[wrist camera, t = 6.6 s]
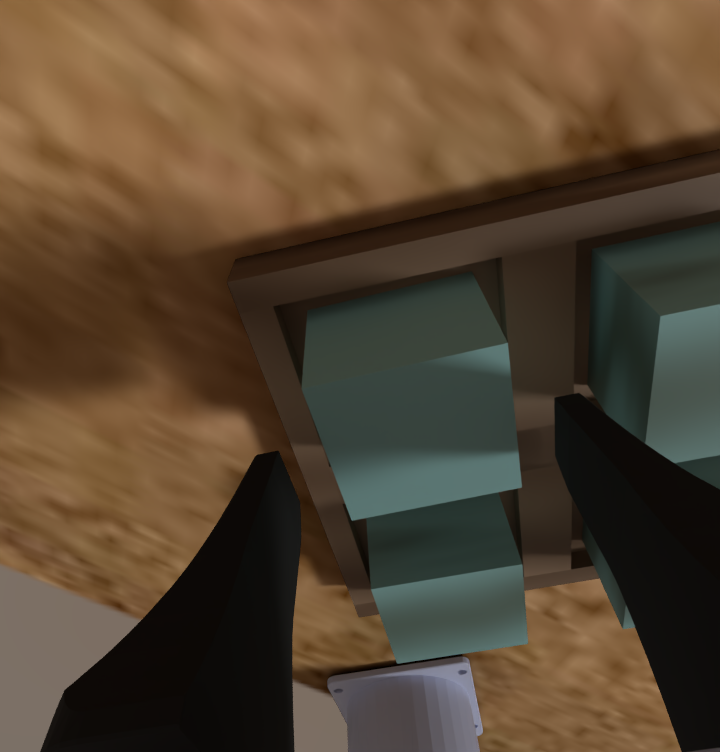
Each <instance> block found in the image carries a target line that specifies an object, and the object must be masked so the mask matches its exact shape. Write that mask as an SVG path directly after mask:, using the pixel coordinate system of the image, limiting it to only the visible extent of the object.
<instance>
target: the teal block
mask: <svg viewBox="0 0 720 752" xmlns="http://www.w3.org/2000/svg"><path fill="white" fill-rule="evenodd" d="M302 392H303V394H304V397H305V399H306V402H307V405H308V407H309V410H310V413H311V415H312V418H313V420H314V423H315V426H316V428H317V431H318V433H319V436H320V439H321V441H322V444H323V447H324V449H325V452H326V454H327V457H328V460H329V462H330V465H331V468H332V470H333V473H334V475H335V478H336V481H337V483H338V486H339V488H340V491H341V494H342V496H343V499H344V502H345V504H346V507H347V509H348V512H349V515H350V517H351V520H352V521H353V520H359V519H364V518H369V517H374V516H379V515H384V514H389V513H394V512H400V511H405V510H410V509H415V508H420V507H425V506H430V505H435V504H440V503H446V502H451V501H456V500H461V499H466V498H471V497H476V496H481V495H487V494H492V493H497V492H502V491H507V490H512V489H517V488H522V483H521V472H520V462H519V452H518V442H517V431H516V421H515V411H514V401H513V391H512V380H511V370H510V360H509V350H508V342H507V340H506V338H505V336H504V334H503V332H502V330H501V328H500V326H499V324H498V323H497V321H496V319H495V317H494V315H493V313H492V311H491V309H490V307H489V305H488V303H487V301H486V299H485V297H484V295H483V293H482V291H481V289H480V287H479V285H478V283H477V281H476V279H475V277H474V275H473V273H472V271H471V272H467V273H463V274H458V275H454V276H450V277H446V278H442V279H437V280H433V281H429V282H425V283H421V284H416V285H412V286H408V287H404V288H399V289H395V290H391V291H387V292H383V293H378V294H374V295H370V296H366V297H362V298H357V299H353V300H349V301H345V302H341V303H336V304H332V305H328V306H324V307H320V308H315V309H311V310H308V311H307V324H306V337H305V350H304V363H303V376H302Z"/></svg>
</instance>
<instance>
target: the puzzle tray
mask: <svg viewBox="0 0 720 752" xmlns="http://www.w3.org/2000/svg"><path fill="white" fill-rule="evenodd" d="M471 271H472V273H473V275H474V277H475V279H476V281H477V283H478V285H479V287H480V289H481V291H482V293H483V295H484V297H485V299H486V301H487V303H488V305H489V307H490V309H491V311H492V313H493V315H494V317H495V319H496V321H497V323H498V324H499V326H500V328H501V330H502V332H503V334H504V336H505V338H506V340H507V342H508V350H509V360H510V370H511V380H512V391H513V401H514V411H515V421H516V431H517V442H518V452H519V462H520V472H521V483H522V488H517V489H512V490H507V491H502V492H497V493H492V494H487V495H481V496H476V497H471V498H466V499H461V500H456V501H451V502H446V503H440V504H435V505H430V506H425V507H420V508H415V509H410V510H405V511H400V512H394V513H389V514H384V515H379V516H374V517H369V518H364V519H359V520H353V521H352V520H351V517H350V515H349V512H348V509H347V507H346V504H345V502H344V499H343V496H342V494H341V491H340V488H339V486H338V483H337V481H336V478H335V475H334V473H333V470H332V468H331V465H330V462H329V460H328V457H327V454H326V452H325V449H324V447H323V444H322V441H321V439H320V436H319V433H318V431H317V428H316V426H315V423H314V420H313V418H312V415H311V413H310V410H309V407H308V405H307V402H306V399H305V397H304V394H303V392H302V376H303V363H304V350H305V337H306V324H307V311H308V310H311V309H315V308H320V307H324V306H328V305H332V304H336V303H341V302H345V301H349V300H353V299H357V298H362V297H366V296H370V295H374V294H378V293H383V292H387V291H391V290H395V289H399V288H404V287H408V286H412V285H416V284H421V283H425V282H429V281H433V280H437V279H442V278H446V277H450V276H454V275H458V274H463V273H467V272H471ZM227 284H228V287H229V289H230V292H231V294H232V297H233V299H234V302H235V304H236V307H237V310H238V312H239V315H240V317H241V320H242V322H243V325H244V327H245V330H246V332H247V335H248V337H249V340H250V342H251V345H252V348H253V350H254V353H255V355H256V358H257V360H258V363H259V365H260V368H261V370H262V373H263V375H264V378H265V380H266V383H267V386H268V388H269V391H270V393H271V396H272V398H273V401H274V403H275V406H276V408H277V411H278V413H279V416H280V419H281V421H282V424H283V426H284V429H285V431H286V434H287V436H288V439H289V441H290V444H291V446H292V449H293V451H294V454H295V457H296V459H297V462H298V464H299V467H300V469H301V472H302V474H303V477H304V479H305V482H306V484H307V487H308V489H309V492H310V495H311V497H312V500H313V502H314V505H315V507H316V510H317V512H318V515H319V517H320V520H321V522H322V525H323V527H324V530H325V533H326V535H327V538H328V540H329V543H330V545H331V548H332V550H333V553H334V555H335V558H336V560H337V563H338V566H339V568H340V571H341V573H342V576H343V578H344V581H345V583H346V586H347V588H348V591H349V593H350V596H351V598H352V601H353V604H354V606H355V609H356V611H357V614H358V616H359V617H365V616H371V615H377V614H380V616H381V619H382V622H383V625H384V628H385V631H386V633H387V636H388V639H389V642H390V645H391V648H392V650H393V653H394V656H395V659H396V662H397V664H399V663H406V662H412V661H419V660H425V659H432V658H438V657H445V656H451V655H458V654H464V653H471V652H477V651H484V650H490V649H497V648H503V647H510V646H516V645H523V644H528V637H527V623H526V608H525V594H524V591H525V590H531V589H537V588H543V587H549V586H556V585H562V584H568V583H574V582H580V581H586V580H593V579H599V578H600V580H601V582H602V585H603V587H604V589H605V591H606V593H607V595H608V598H609V600H610V602H611V604H612V606H613V608H614V611H615V613H616V615H617V617H618V619H619V622H620V624H621V626H622V628H623V629H627V628H633V627H635V625H634V623H633V620H632V618H631V615H630V613H629V611H628V608H627V606H626V603H625V601H624V599H623V596H622V594H621V591H620V589H619V587H618V584H617V582H616V580H615V578H614V576H613V574H612V572H611V570H610V568H609V566H608V564H607V562H606V560H605V558H604V556H603V554H602V553H601V551H600V549H599V547H598V545H597V543H596V541H595V540H594V538H593V536H592V534H591V532H590V530H589V529H588V527H587V525H586V523H585V521H584V519H583V517H582V516H581V514H580V512H579V510H578V508H577V506H576V504H575V502H574V501H573V499H572V497H571V495H570V493H569V491H568V488H567V486H566V483H565V481H564V478H563V476H562V473H561V471H560V468H559V465H558V462H557V460H556V457H555V415H554V397H559V396H565V395H570V394H575V393H580V394H581V395H583V396H584V397H585V398H587V399H588V400H589V401H590V402H592V403H593V404H594V405H595V406H597V407H598V408H599V409H600V410H602V411H603V412H604V413H605V414H607V415H608V416H609V417H610V418H612V419H613V420H614V421H616V422H617V423H618V424H619V425H621V426H622V427H623V428H625V429H626V430H627V431H629V432H630V433H631V434H633V435H634V436H636V437H637V438H638V439H640V440H641V441H642V442H644V443H645V444H647V445H648V446H649V447H651V448H652V449H654V450H655V451H657V452H658V453H660V454H661V455H663V456H664V457H666V458H667V459H669V460H670V461H672V462H673V463H675V464H677V465H678V466H680V467H681V468H683V469H685V470H686V471H688V472H690V473H691V474H693V475H695V476H696V477H698V478H700V479H702V480H704V481H706V482H707V483H709V484H711V485H713V486H715V487H716V488H718V489H720V150H716V151H711V152H707V153H702V154H698V155H694V156H689V157H685V158H680V159H676V160H672V161H667V162H663V163H658V164H654V165H650V166H645V167H641V168H636V169H632V170H627V171H623V172H619V173H614V174H610V175H605V176H601V177H597V178H592V179H588V180H583V181H579V182H575V183H570V184H566V185H561V186H557V187H552V188H548V189H544V190H539V191H535V192H530V193H526V194H522V195H517V196H513V197H508V198H504V199H500V200H495V201H491V202H486V203H482V204H478V205H473V206H469V207H464V208H460V209H455V210H451V211H447V212H442V213H438V214H433V215H429V216H425V217H420V218H416V219H411V220H407V221H403V222H398V223H394V224H389V225H385V226H381V227H376V228H372V229H367V230H363V231H358V232H354V233H350V234H345V235H341V236H336V237H332V238H328V239H323V240H319V241H314V242H310V243H306V244H301V245H297V246H292V247H288V248H284V249H279V250H275V251H270V252H266V253H261V254H257V255H253V256H248V257H244V258H239V259H235V262H234V265H233V267H232V270H231V273H230V275H229V278H228V281H227Z"/></svg>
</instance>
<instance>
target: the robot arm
mask: <svg viewBox="0 0 720 752" xmlns="http://www.w3.org/2000/svg"><path fill="white" fill-rule="evenodd" d="M554 415H555V457H556V460H557V462H558V465H559V468H560V471H561V473H562V476H563V478H564V481H565V483H566V486H567V488H568V491H569V493H570V495H571V497H572V499H573V501H574V502H575V504H576V506H577V508H578V510H579V512H580V514H581V516H582V517H583V519H584V521H585V523H586V525H587V527H588V529H589V530H590V532H591V534H592V536H593V538H594V540H595V541H596V543H597V545H598V547H599V549H600V551H601V553H602V554H603V556H604V558H605V560H606V562H607V564H608V566H609V568H610V570H611V572H612V574H613V576H614V578H615V580H616V582H617V584H618V587H619V589H620V591H621V594H622V596H623V599H624V601H625V603H626V606H627V608H628V611H629V613H630V615H631V618H632V620H633V623H634V625H635V628H636V630H637V633H638V635H639V638H640V640H641V643H642V645H643V648H644V650H645V653H646V655H647V658H648V661H649V663H650V666H651V669H652V671H653V674H654V677H655V679H656V682H657V685H658V687H659V690H660V693H661V695H662V698H663V700H664V703H665V706H666V709H667V712H668V714H669V717H670V720H671V723H672V726H673V728H674V731H675V734H676V737H677V740H678V743H679V745H680V748H681V751H682V752H720V489H718V488H716V487H715V486H713V485H711V484H709V483H707V482H706V481H704V480H702V479H700V478H698V477H696V476H695V475H693V474H691V473H690V472H688V471H686V470H685V469H683V468H681V467H680V466H678V465H677V464H675V463H673V462H672V461H670V460H669V459H667V458H666V457H664V456H663V455H661V454H660V453H658V452H657V451H655V450H654V449H652V448H651V447H649V446H648V445H647V444H645V443H644V442H642V441H641V440H640V439H638V438H637V437H636V436H634V435H633V434H631V433H630V432H629V431H627V430H626V429H625V428H623V427H622V426H621V425H619V424H618V423H617V422H616V421H614V420H613V419H612V418H610V417H609V416H608V415H607V414H605V413H604V412H603V411H602V410H600V409H599V408H598V407H597V406H595V405H594V404H593V403H592V402H590V401H589V400H588V399H587V398H585V397H584V396H583V395H581V394H580V393H575V394H570V395H565V396H559V397H554ZM300 545H301V514H300V501H299V499H298V496H297V494H296V492H295V489H294V487H293V484H292V482H291V480H290V477H289V475H288V472H287V470H286V468H285V465H284V463H283V460H282V458H281V455H280V453H279V451H275V452H270V453H264V454H259V455H256V456H255V458H254V459H253V461H252V463H251V465H250V467H249V469H248V470H247V472H246V474H245V476H244V478H243V480H242V481H241V483H240V485H239V487H238V489H237V490H236V492H235V494H234V496H233V498H232V499H231V501H230V503H229V504H228V506H227V508H226V509H225V511H224V513H223V514H222V516H221V518H220V520H219V521H218V523H217V524H216V526H215V527H214V529H213V530H212V532H211V534H210V535H209V537H208V538H207V540H206V541H205V543H204V544H203V546H202V547H201V549H200V550H199V552H198V553H197V554H196V556H195V557H194V559H193V560H192V561H191V563H190V564H189V565H188V567H187V568H186V569H185V571H184V572H183V573H182V574H181V576H180V577H179V578H178V580H177V581H176V582H175V583H174V585H173V586H172V587H171V588H170V589H169V590H168V591H167V593H166V594H165V595H164V596H163V597H162V598H161V599H160V600H159V602H158V603H157V604H156V605H155V606H154V607H153V608H152V609H151V611H150V612H149V613H148V614H147V615H146V616H145V617H144V618H143V619H142V620H141V621H140V622H139V623H138V624H137V625H136V627H134V628H133V629H132V630H131V631H130V633H129V634H127V635H126V636H125V637H124V638H123V639H122V640H121V641H120V642H119V643H118V644H117V645H116V646H115V647H114V648H113V649H112V650H111V651H110V652H108V653H107V654H106V655H105V656H104V657H103V658H102V659H101V660H99V661H98V662H97V663H96V664H95V665H94V666H93V667H91V668H90V669H89V670H88V671H87V672H86V673H84V674H83V675H82V676H81V677H80V678H79V679H78V680H76V681H75V682H74V683H73V684H72V685H70V686H69V687H68V688H67V689H66V690H65V691H64V693H63V695H62V698H61V700H60V702H59V705H58V707H57V709H56V712H55V714H54V717H53V719H52V722H51V725H50V727H49V730H48V733H47V736H46V738H45V741H44V743H43V746H42V749H41V751H40V752H294V728H293V691H292V690H293V689H292V688H293V687H292V632H293V616H294V606H295V596H296V586H297V576H298V566H299V556H300ZM327 686H328V689H329V691H330V693H331V695H332V696H333V698H334V700H335V702H336V704H337V706H338V708H339V710H340V712H341V714H342V715H343V717H344V719H345V721H346V723H347V726H348V752H480V750H479V745H478V740H477V736H479V735H481V734H482V733H483V729H482V724H481V719H480V714H479V709H478V704H477V698H476V693H475V688H474V683H473V678H472V673H471V668H470V663H469V660H468V658H466V657H463V656H459V657H452V658H446V659H439V660H433V661H426V662H420V663H413V664H407V665H400V666H394V667H387V668H381V669H374V670H368V671H361V672H355V673H348V674H342V675H335V676H331V677H330V678H328V680H327Z"/></svg>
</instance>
